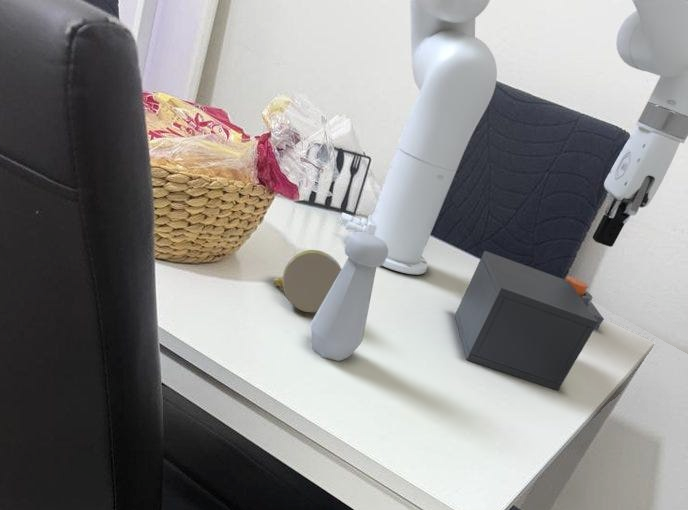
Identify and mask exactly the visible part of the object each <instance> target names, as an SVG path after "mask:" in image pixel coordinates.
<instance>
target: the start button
mask: <svg viewBox="0 0 688 510" xmlns="http://www.w3.org/2000/svg"><path fill="white" fill-rule="evenodd" d="M564 280H567V281H569V282H570V283H571V285H572V286H573V287H574V289H575V290H576V292H577V293H578V294H579V295H583V296H584V294H585V292H586V291H587V290H588V288H589V285H588V284H587V283H586V282H585V281H583V280H581V279H580V278H579V279H578V278H576V277H573V276H570V275H567V276H565V278H564Z"/></svg>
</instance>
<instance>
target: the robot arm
mask: <svg viewBox="0 0 688 510" xmlns="http://www.w3.org/2000/svg"><path fill="white" fill-rule="evenodd" d="M490 2H491V0H410V2H409V5H410V6H409V7H410V9H409V10H410V46H411V47H410V50H411V53H410V54H411V69H412V75H413V78H414V83H415V85H416V87H417V88H418V90H419V93H418V95H417V98H416V100H415V102H414V104H413V106H412V107H411V110H410V112H409V113H408V115H407V116H408V117H407V119H406V121H405V123H404V126H403V129H402V131H401V133H400V137H399V139H398V142H397V145H396V149H395V151H394V154H393V157H392V159H391V163H390V166H389V168H388V171H387V173H386V177H385V179H384V182H383V185H382V188H381V190H380V193H379V196H378V199H377V202H376V204H375V207H374V210H373V213H372V214H368V216H367V218H365V217H361V218H357V217H354V216H353V215H351V214H348V213H345V212H341V214H340V218H339V221H338V226H341V227H344V228H345V231H349V232H351V233H355V232H365V233H369V234H372V235H374V236H376V237H378V238H380V239H381V240H383V241H384V242H385V243H386V246H387V248H388V254H387V258H386V260H385V262H384V263H383V265H382V266H381V267H384V268H387V269H390V270H392V271H395V272H399V273H402V274H407V275H423V274H424V273H426V272H427V270H428V266H429V263H428V261H427V260H426V258H424V257H423V254H424V251H425V248H426V246H427V244H428V242H429V239H430V237H431V235H432V231H433V229H434V227H435V225H436V222H437V220H438V217H439V214H440V212H441V210H442V207H443V206H444V202H445V200H446V197H447V195H448V193H449V191H450V187H451V185H452V183H453V181H454V179H455V176H456V173H457V171H458V168H459V166H460V163H461V161H462V158H463V156H464V153H465V151H466V149H467V147H468V145H469V142H470V141H471V138H472V136H473V134H474V132H475V129H476V128H477V126H478V124H479V123H480V122H481V118H482V117H483V116H484V114H485V112H486V110H487V109H488V106H489V105H490V102H491V100H492V98H493V95H494V92H495V89H496V86H497V78H498V71H497V63H496V59H495V56H494V54H493V52H492V51H491V49H490V48H489V46H488V45H487V44H486V43H485V42H484V41H482V40H481V39H480V38H478V37H476V19H477V18H478V17H479V16H480V15H481V14H482V13H483V12H484V11H485V9H487V7H488V5H489V3H490ZM632 2H633V5H634V7H635V9H636V10H635V11H634V12H632V13H631V14H629V15H628V16H627V17H626V18H625V19H624V20H623V22H622V23H621V25H620V27H619V28H618V31H617V35H616V44H615V45H616V50H617V54H618V55H619V57H620V58H621V60H622V61H623V63H625V64H626V65H628V66H629V67H631V68H633V69H636V70H639V71H643V72H647V73H650V74H653V75H656V76H659V78H658V80H657V82H656V84H655V86H654V88H653V90H652V92H651V94H650V96H649V98H648V100H647V102H646V104H645V105H644V107H643V110H642V112H641V114H640V116H639V118H638V120H637V121H636V123H635V125H636V127H635V129H634V130H633V132H632V133H631V135H630V136H629V138H628V139H627V141H626V143H625V144H624V146H623V148H622V149H621V151H620V153H619V155H618V156H617V157H616V160H615V162H614V164H613V165H612V166H611V169H610V171H609V173H608V174H607V176H606V178H605V180H604V182H603V187H604V189H605V191H607V192H608V193H609V195H608V199H609V202H608V204H607V206H606V208H605V211H604V214H603V215H602V218H601V219H600V221H599V223H598V225H597V227H596V229H595V231H594V233H593V234H592V240H593V241H594V242H596V243H597V244H601V245H603V246H607V247H609V248H611V247H613V246H614V244H615V243H616V241H617V239H618V237H619V235H620V233H621V231H622V230H623V228H624V226H625V224H626V223H627V222H628V221H629V219H630V217H631V216H636V215H637V213H638V211H639V209H640V208H641V209H643V208H646V207H648V206H649V204H650V203H651V202H652V200H653V199H654V197H655V195H656V194H657V192H658V190H659V188H660V186H661V184H662V183H663V181H664V178H665V176H666V175H667V173H668V170H669V168H670V166H671V164H672V162H673V160H674V157H675V155H676V153H677V151H678V148H679V146H680V144H685V142H686V140H687V138H688V0H632Z"/></svg>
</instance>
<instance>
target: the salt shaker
mask: <svg viewBox="0 0 688 510" xmlns="http://www.w3.org/2000/svg"><path fill="white" fill-rule="evenodd" d="M344 254H345V255H346V257H347V259H346V261H345V262H344V264H343V266H342V267H341V269H342V270H341V271H340V273H339V275H338V277H337V278H336V280H335V282H334V283H333V285H332V287H331V289H330V290H329V292H328V294H327V296H326V297H325V299H324V301H323V303H322V304H321V306H320V308H319V309H318V311H317V313H315V315H314V316H313V318H312V320H311V321H310V334H311V336H310V337H311V348H312V350H313V351H315V352H316V353H317V354H319V355H320V356H321V357H322V358H325V359H329V360H332V361H336V362H341V361H344V360H346V359H348V358H349V357H350V356H351V355H352V354H353V353H354V352H355V351H356V350H357V349H358V348H359V347H360V346H361V344H362V343H363V342H364V341H363V340H364V337H365V336H364V335H365V330H366V324H367V319H368V315H369V314H368V313H369V309H370V304H371V298H372V293H373V288H374V287H373V286H374V283H375V277H376V272H377V268H380V267H383V266H382V265H383V263H384V262H385V260H386V258H387V254H388V248H387V246H386V243H385V242H384V241H383V240H381V239H380V238H378V237H376V236H374V235H372V234H369V233H365V232H352V233H351V234H349V236H348V237H347V239H346V242H345V245H344Z"/></svg>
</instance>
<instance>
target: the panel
mask: <svg viewBox="0 0 688 510" xmlns="http://www.w3.org/2000/svg"><path fill="white" fill-rule="evenodd" d="M578 295H579V294H578ZM579 296H580V297H581V299H582V300H583V302H584V303H585V304H586V306H587V307H588V309H589V310H590V312H591V313H592V314H593V316H594V317H595V319H596V320H597V322H598V323H597V325H596V327H595V328H594V331H598V330H599V328H600V326H601V325H602V323H603V321H604V317H603V316H602V314H601V313H600V312H599V310H598V309H597V308H596V306H595V305H594V303H593V302H592V300H593V296H592V294H591V293H589V292H588V291H587V290H586V292H585V294H584V296H583V295H579Z"/></svg>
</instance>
